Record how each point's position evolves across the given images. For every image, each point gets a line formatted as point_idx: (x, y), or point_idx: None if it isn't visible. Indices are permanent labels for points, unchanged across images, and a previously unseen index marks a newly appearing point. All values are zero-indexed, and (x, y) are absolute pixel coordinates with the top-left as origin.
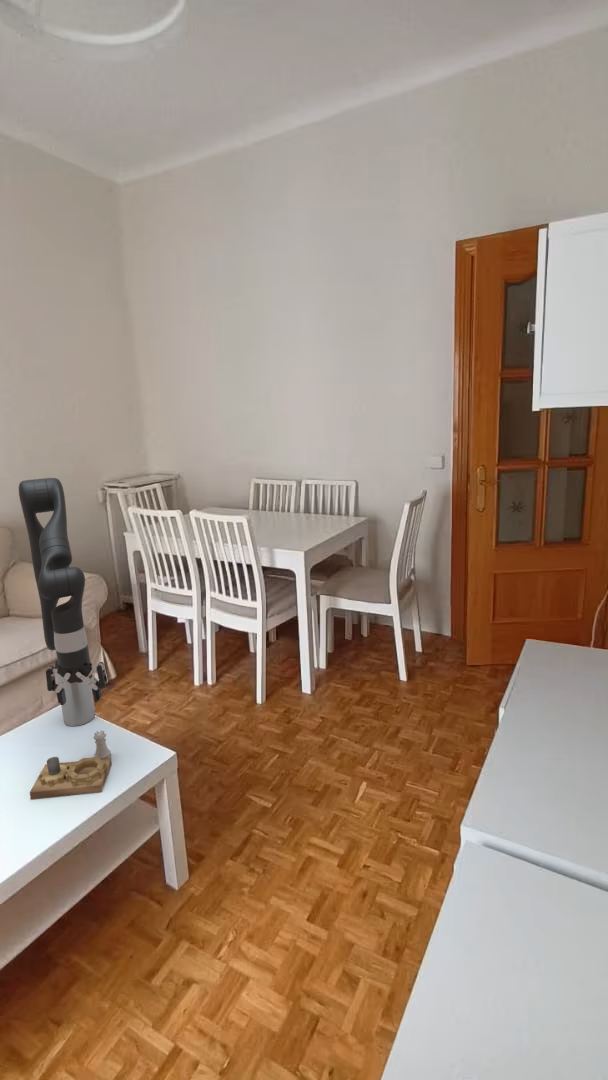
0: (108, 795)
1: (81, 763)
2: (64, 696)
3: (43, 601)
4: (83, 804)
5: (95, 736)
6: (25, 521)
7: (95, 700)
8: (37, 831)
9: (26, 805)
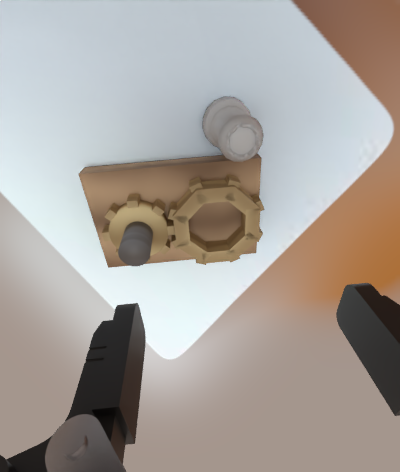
0: (267, 251)
1: (197, 208)
2: (133, 352)
3: None
4: (225, 270)
5: (231, 156)
6: None
7: (350, 332)
8: (170, 316)
9: (113, 270)
